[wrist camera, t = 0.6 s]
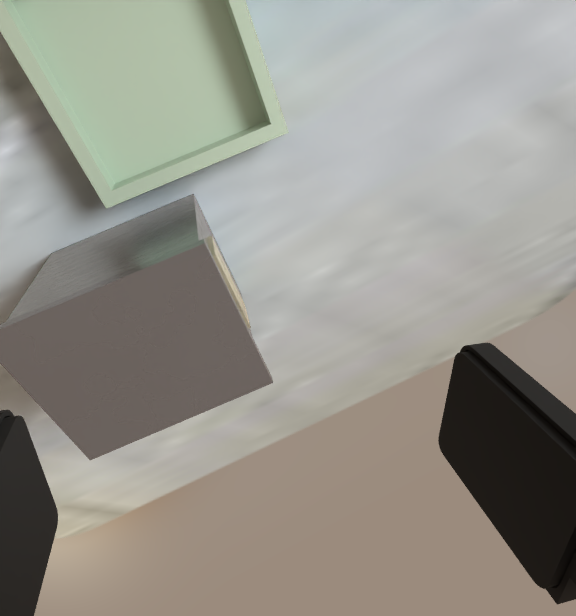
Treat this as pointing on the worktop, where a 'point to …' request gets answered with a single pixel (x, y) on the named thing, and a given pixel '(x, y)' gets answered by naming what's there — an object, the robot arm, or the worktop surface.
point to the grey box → (133, 331)
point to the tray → (146, 84)
